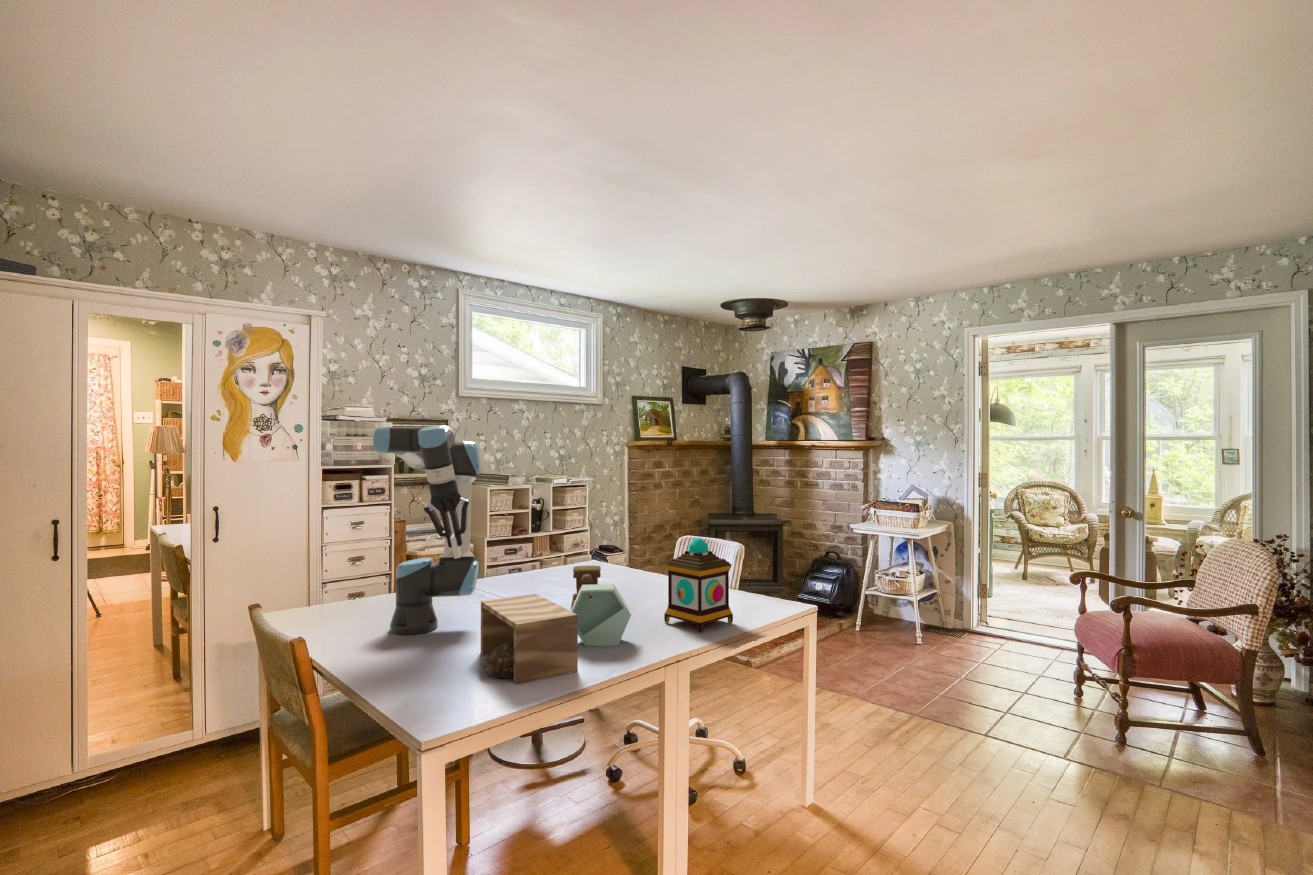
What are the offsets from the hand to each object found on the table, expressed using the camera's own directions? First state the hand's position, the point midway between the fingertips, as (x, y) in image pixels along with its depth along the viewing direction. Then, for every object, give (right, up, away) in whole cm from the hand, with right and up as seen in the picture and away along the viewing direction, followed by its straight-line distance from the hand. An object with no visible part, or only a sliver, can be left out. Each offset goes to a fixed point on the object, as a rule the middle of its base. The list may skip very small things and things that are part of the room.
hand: (458, 556), depth 184 cm
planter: (+40, -30, +14) cm, 52 cm away
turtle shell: (+19, -30, -10) cm, 37 cm away
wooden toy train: (+33, -31, +46) cm, 65 cm away
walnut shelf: (+21, -29, -5) cm, 36 cm away
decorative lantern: (+73, -30, +36) cm, 87 cm away
